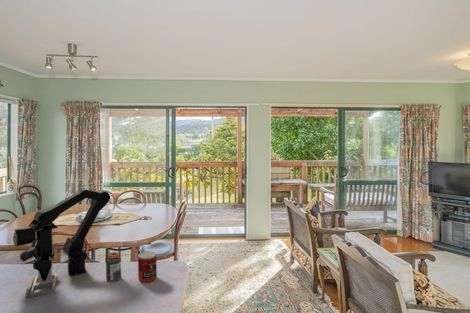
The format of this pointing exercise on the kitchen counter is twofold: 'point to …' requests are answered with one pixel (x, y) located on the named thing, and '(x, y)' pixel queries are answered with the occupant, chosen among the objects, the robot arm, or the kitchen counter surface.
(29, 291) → the cubby shelf with drawer
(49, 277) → the blue-grey box
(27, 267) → the kitchen counter surface
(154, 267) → the canned food
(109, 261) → the pill bottle
